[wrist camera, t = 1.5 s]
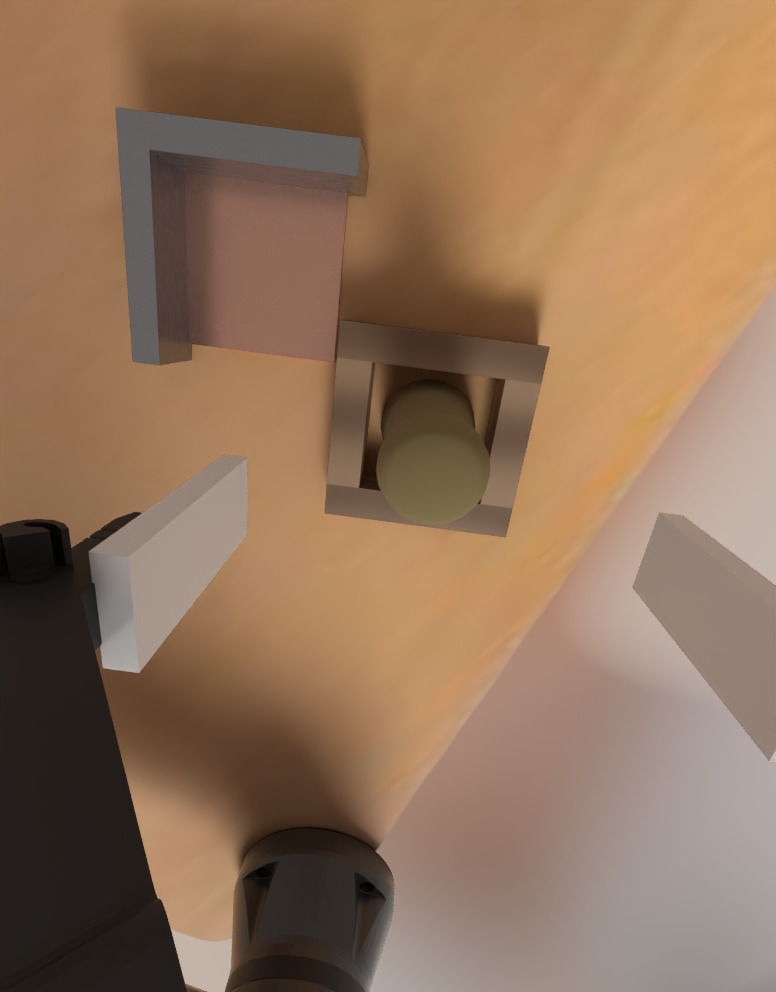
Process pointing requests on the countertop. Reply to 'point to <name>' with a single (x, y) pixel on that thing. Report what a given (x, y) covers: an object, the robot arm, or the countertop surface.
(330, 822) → the countertop surface
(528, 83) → the countertop surface
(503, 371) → the socket block
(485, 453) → the olive stamp handle
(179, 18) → the countertop surface
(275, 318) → the corner cradle
